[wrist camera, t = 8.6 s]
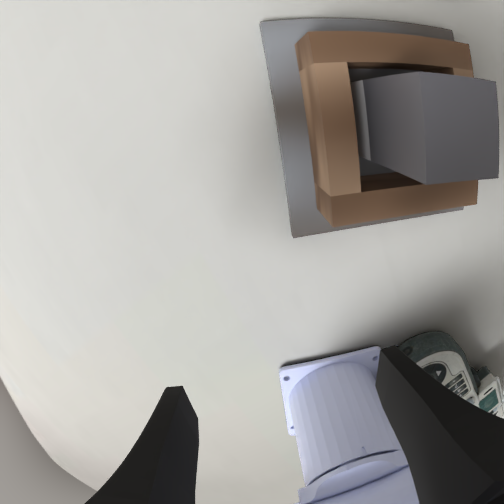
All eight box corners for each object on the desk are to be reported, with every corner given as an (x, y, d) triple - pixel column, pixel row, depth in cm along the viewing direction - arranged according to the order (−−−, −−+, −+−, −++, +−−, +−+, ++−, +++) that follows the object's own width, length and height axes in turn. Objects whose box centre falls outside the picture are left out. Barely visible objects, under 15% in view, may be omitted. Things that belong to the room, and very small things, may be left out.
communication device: (459, 286, 22) (524, 351, 14) (492, 395, 30) (522, 439, 22) (344, 373, 25) (377, 460, 17) (421, 447, 33) (443, 496, 25)
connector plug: (416, 150, 16) (498, 178, 10) (355, 154, 16) (425, 184, 10) (411, 83, 15) (495, 81, 8) (347, 82, 15) (418, 71, 8)
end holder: (459, 207, 18) (490, 225, 15) (291, 234, 19) (304, 261, 15) (447, 31, 13) (481, 24, 10) (259, 24, 14) (266, 3, 10)
